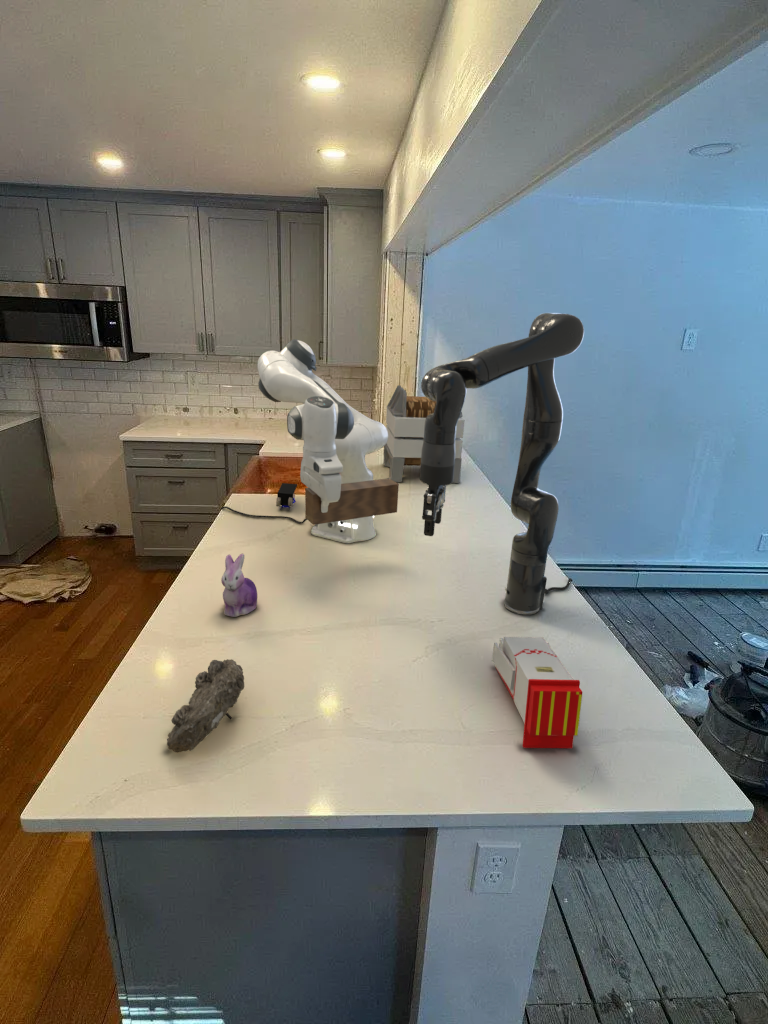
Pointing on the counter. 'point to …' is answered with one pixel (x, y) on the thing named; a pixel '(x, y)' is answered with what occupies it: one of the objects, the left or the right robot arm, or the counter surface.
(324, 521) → the box
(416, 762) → the counter surface
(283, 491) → the figurine character
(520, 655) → the toy
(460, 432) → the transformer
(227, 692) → the fossil
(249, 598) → the figurine
